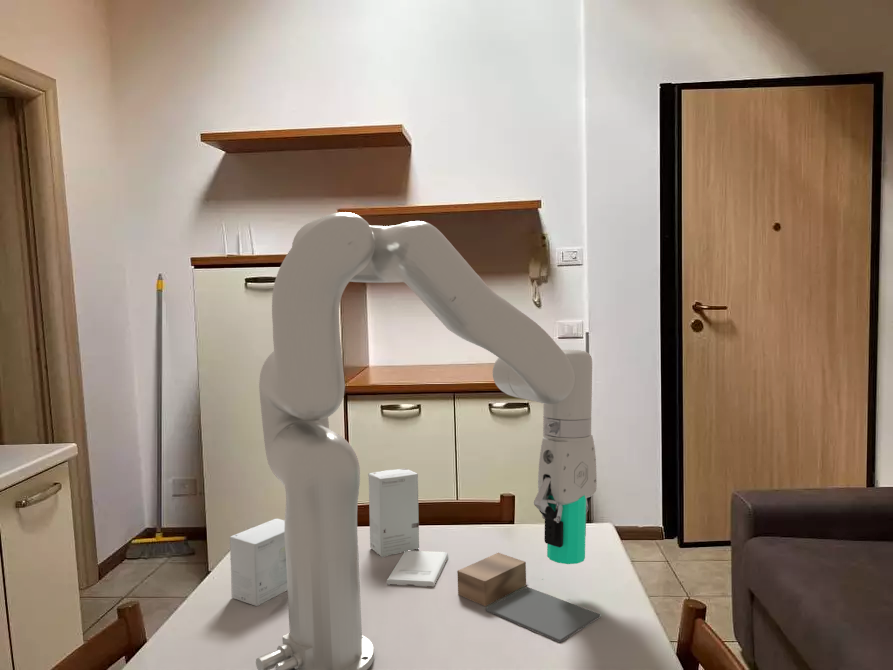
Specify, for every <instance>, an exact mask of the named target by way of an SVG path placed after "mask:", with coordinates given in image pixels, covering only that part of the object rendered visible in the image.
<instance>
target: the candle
mask: <svg viewBox="0 0 893 670" xmlns="http://www.w3.org/2000/svg"><path fill="white" fill-rule="evenodd" d="M551 499H552V500H554V497H553V496H551ZM551 507H552V509H553V510H554V511H555V509H556V505H555V504H552V506H551ZM560 521H562V522H563V546H562V547H556V546H553V545H550V544H547V543H546V544H547V547H546V549H547V551H546V552H547V553H546V554H547V555H546V556H547V558H548V559H549V560H550V561H551V562H555V563H556V564H564V565H575V564H580V563H582V562H584V561H585V559H586V536H585V531H586V530H587V528H586V527H587V512H586V498H585V495H584V496H582V497H581V498H579V499H578V500H577V501H576V502H574V503H571V504H568V505H564V506H563V511H562V516H561V520H560ZM586 532H587V531H586Z"/></svg>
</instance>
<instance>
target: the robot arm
mask: <svg viewBox="0 0 893 670" xmlns="http://www.w3.org/2000/svg"><path fill="white" fill-rule="evenodd" d="M350 282H351V283H352V282H353V283H372V284H373V283H379V284H381V283H382V284H383V283H386V284H387V283H404V284H405V285H407V287H408V289H410V290H411V291H412V292H413V293H414V294H415V295H416V296H417V297H418V298H419V300H420V301H421V302H422V303H424V305H425V306H426V307H427V308H428V309H429V310H430V311H431V312H432V314H434V316H435V317H437V319H438V320H439V322H441V324H442V325H444V326H445V328H446V329H447V330H449V332H451V333H453V334H454V335H456V336H457V337H459V338H461V339H462V340H464V341H467V342H469V343H470V344H473V345H476V346H478V347H480V348H483V349H484V350H486V351H488V352H489V353H491V354H492V355H494V356H496V357H497V359H496V361H495V362H494V364H493V368H492V379H493V381H494V384H495V386H496V387H497V388H498V389H499V390H500V391H501V392H503V394H504V393H505V395H508V396H510V397H513V398H518V399H522V400H528V401H533V402H537V403H541V404H543V410H542V411H543V412H542V414H543V423H542V425H543V427H542V429H543V430H542V432H543V433H542V440H541V445H540V452H539V461H538V474H537V475H538V476H537V488H538V490H537V491H538V492H537V494H536V496H535V498H534V501H533V505H534V507H536V509H538V511H539V512H540V514H541V516H542V519H544V538H543V539H544V543H545V544H550V545H553V546H556V547H562V546H563V522H562V521H560V520H561V516H562V511H563V506H564V505H568V504H571V503H574V502H576V501H577V500H578V499H579V498H581V497H582V496H584V495H585V498H586V513H588V511H589V503H590V501H591V498H592V496H593V495H594V494H596V492H597V459H596V457H597V456H596V448H595V443H594V442H595V441H594V438H593V437H594V436H593V435H592V403H593V402H592V400H593V399H592V397H593V359H592V356H591V353H589V352H588V351H586V350H579V349H562V348H561V347H560V346H559V345H558V344H557V343H556V341H555V340H554V339H553V337H551V336H550V334H549V333H548V332H546V331H545V330H544V329H543V328H542V326H540V325H539V324H538V323H536V321H534V320H533V319H532V318H531V317H530V316H528V315H527V314H525V313H524V312H522V311H521V310H519V309H518V308H517V307H515V306H514V305H513V304H511V302H509V301H507V300H506V299H504V298H503V297H502V296H500V295H498V294H497V293H496V292H494V291H493V290H492V289H491V287H489V286H488V285H487V283H485V281H484V280H483V279H482V278H481V276H480V275H479V274H478V273H477V272H476V271H475V270H474V269H473V267H471V265H470V264H469V263H468V261H467V260H466V259H464V257H463V256H462V255H461V253H460V252H459V250H457V249H456V248H455V247H454V246H453V244H452V243H451V242H450V240H448V239H447V238H446V236H445V235H444V233H442V232H441V231H440V230H439V229H438V228H437V227H436V226H434V225H433V224H431V223H429V222H426V221H422V220H421V221H420V220H415V221H408V222H402V223H400V224H396V225H389V226H388V225H386V226H385V225H384V226H383V225H370V224H369V222H368V221H367V220H365V218H363V217H362V216H360V215H358V214H355V213H354V212H353V213H352V212H346V211H345V212H343V211H342V212H334V213H330V214H327V215H324V216H322V217H320V218H318V219H315V220H312V221H309V222H307V223H305V224H304V225H303V226H301V227H300V229H298V231H297V232H296V234H295V235H294V238H293V239H292V245H291V248H290V249H289V251H288V252H287V254H286V255H285V257H284V259H283V261H281V264H280V267H279V269H278V272H277V274H276V277H275V280H274V283H273V289H272V297H271V316H272V317H271V318H272V341H273V342H272V343H273V352H271V353H270V354H269V355H268V356H267V358H266V359H265V360H264V362H263V364H262V367H261V370H260V375H259V380H258V381H259V382H258V383H259V384H258V389H259V390H258V391H259V401H260V412H261V421H262V422H261V423H262V431H263V432H262V433H263V440H264V441H263V442H264V443H263V444H264V451H265V457H266V460H267V464H268V467H269V468H270V470H271V471H272V473H273V474H274V475H275V477H276V478H277V479H278V481H280V483H281V484H282V485H283V486H284V488H285V513H284V520H285V526H284V531H285V554H286V569H287V589H288V590H287V603H288V605H287V606H288V609H287V610H288V625H289V626H288V627H289V632H288V633H286V634H283V635H282V644H281V645H278V646H277V648H276V650H274V651H271V652H268V653H266V654H263V655H261V656H259V657H257V658H256V659H255V666H256V669H257V670H272V669H274V668H275V670H368V669H370V667H371V666H372V664H373V663H374V660H375V648H374V644H373V642H372V641H371V640H370V639H369V638H368V637H366V636H364V635H363V631H362V629H363V627H362V626H363V625H362V612H361V611H362V607H361V606H362V605H361V603H362V602H361V582H360V578H361V577H360V560H359V559H360V558H359V557H360V556H359V542H358V541H359V539H358V538H359V537H358V503H359V493H360V485H361V484H360V483H361V467H360V463H359V458H358V456H357V454H356V451H355V449H354V447H352V445H351V444H350V443H349V442H348V440H347V439H345V438H344V437H343V436H342V435H340V434H339V433H337V432H336V431H334V430H332V429H330V424H329V423H330V422H329V417H330V416H332V415H333V414H335V413H336V412H337V410H338V409H340V407H341V404H342V403H343V400H344V396H345V389H346V383H345V374H344V365H343V363H344V362H343V353H342V346H341V345H342V343H341V335H340V334H341V333H340V305H341V300H342V296H343V294H344V292H345V289H346V287H347V285H349V283H350ZM551 496H553V497H554V500H552V499H551ZM552 504H555V505H556V509H555V511H554V510H553V509H552V507H551V506H552ZM586 532H587V531H585V537H586V535H587V533H586Z"/></svg>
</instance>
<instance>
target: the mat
mask: <svg viewBox="0 0 893 670" xmlns="http://www.w3.org/2000/svg"><path fill="white" fill-rule="evenodd" d="M485 611H486V612H488V613H491V614H493V615H495V616H497V617H499V618H502V619H505V620H506V621H509V622H511V623H514V624H516V625H519V626H521V627H523V628H526V629H528V630H530V631H533V632H535V633H537V634H538V635H541V636H543V637H546V638H548V639H552V640H554V641H556V642H557V643H562V642H563V641H565V640H567V639H568V638H569V637H571V636H573V635H574V634H576V633H577V632H579V631H580V630H582V629H584V628H585V627H587V626H588V625H590V624H591V623H593V622H594V621H596V620H598V619H599V618H601V613H598V612H595V611H592V610H590V609H588V608H585V607H583V606H580V605H577V604H574V603H572V602H569V601H568V600H567V601H566V600H564V599H561V598H558V597H556V596H553V595H550V594H547V593H544V592H542V591H540V590H537V589H534V588H531V587H529V586H525V587H523V588H521V589H519V590H517V591H515V592H513V593H511V594H509V596H508V595H507V597H506V596H505V597H503V598H501V599H499V600H498V601H496V602H494V603H493V604H490V605H488V606H486V607H485Z"/></svg>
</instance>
